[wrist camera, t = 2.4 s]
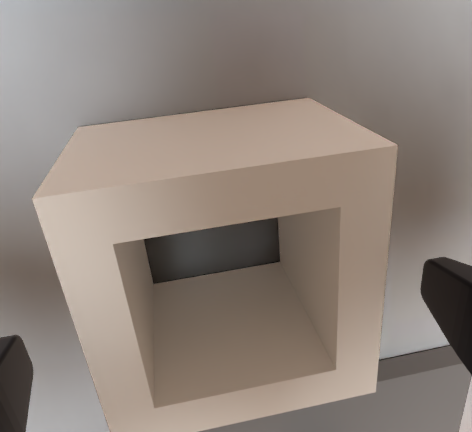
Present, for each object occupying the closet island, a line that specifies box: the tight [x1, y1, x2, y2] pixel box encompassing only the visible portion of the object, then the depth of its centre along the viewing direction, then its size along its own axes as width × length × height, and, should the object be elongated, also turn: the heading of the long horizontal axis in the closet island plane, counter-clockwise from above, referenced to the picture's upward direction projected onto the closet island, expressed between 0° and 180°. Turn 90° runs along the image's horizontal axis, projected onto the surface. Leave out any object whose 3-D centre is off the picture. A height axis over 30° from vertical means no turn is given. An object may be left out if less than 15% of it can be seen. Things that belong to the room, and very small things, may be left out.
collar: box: [32, 98, 398, 432], centre depth 11 cm, size 7×7×5 cm
